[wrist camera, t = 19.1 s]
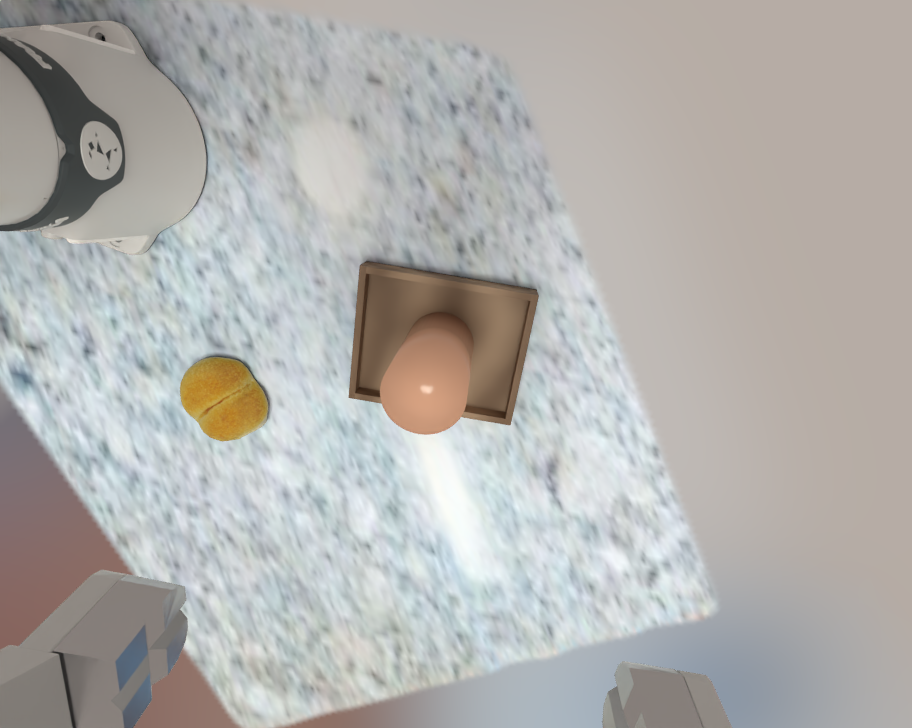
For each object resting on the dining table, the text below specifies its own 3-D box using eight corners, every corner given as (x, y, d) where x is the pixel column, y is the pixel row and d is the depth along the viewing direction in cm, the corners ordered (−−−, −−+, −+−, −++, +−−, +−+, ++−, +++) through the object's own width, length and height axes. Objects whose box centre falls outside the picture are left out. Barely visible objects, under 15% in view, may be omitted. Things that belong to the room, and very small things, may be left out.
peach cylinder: (403, 369, 48) (375, 425, 37) (411, 306, 46) (385, 346, 35) (467, 381, 48) (459, 441, 37) (479, 318, 46) (474, 362, 35)
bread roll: (232, 340, 50) (211, 353, 46) (284, 411, 52) (269, 428, 49) (172, 376, 52) (147, 392, 48) (225, 443, 54) (206, 462, 51)
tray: (355, 387, 51) (348, 397, 48) (366, 261, 46) (359, 265, 44) (509, 413, 50) (510, 425, 48) (536, 289, 46) (538, 295, 44)
